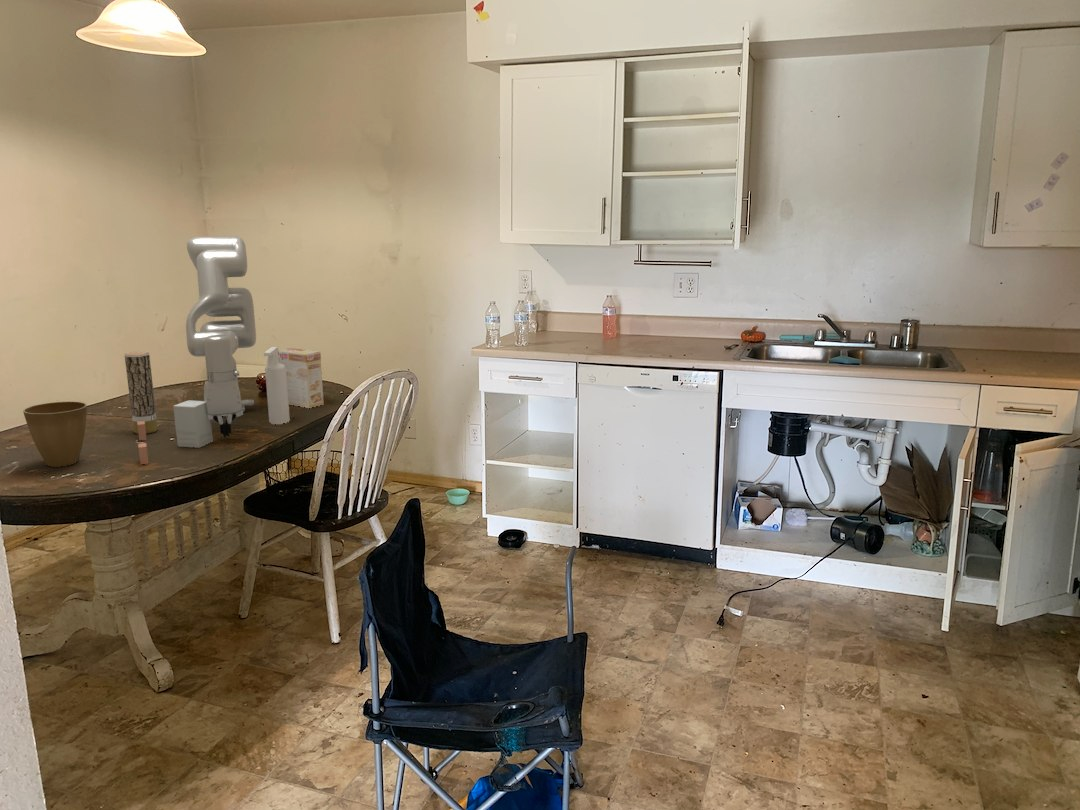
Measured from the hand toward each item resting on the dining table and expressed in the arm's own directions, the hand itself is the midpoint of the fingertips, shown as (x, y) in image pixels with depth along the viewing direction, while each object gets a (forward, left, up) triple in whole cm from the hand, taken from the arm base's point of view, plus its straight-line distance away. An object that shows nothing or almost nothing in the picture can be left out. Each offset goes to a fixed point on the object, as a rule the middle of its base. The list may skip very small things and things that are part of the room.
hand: (226, 435), depth 243 cm
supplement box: (+9, 0, -2) cm, 9 cm away
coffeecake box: (-29, -37, -2) cm, 47 cm away
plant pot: (+43, +4, -2) cm, 43 cm away
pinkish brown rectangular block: (+23, 0, -2) cm, 23 cm away
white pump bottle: (-18, -16, -2) cm, 24 cm away
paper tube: (+22, -21, -2) cm, 30 cm away
